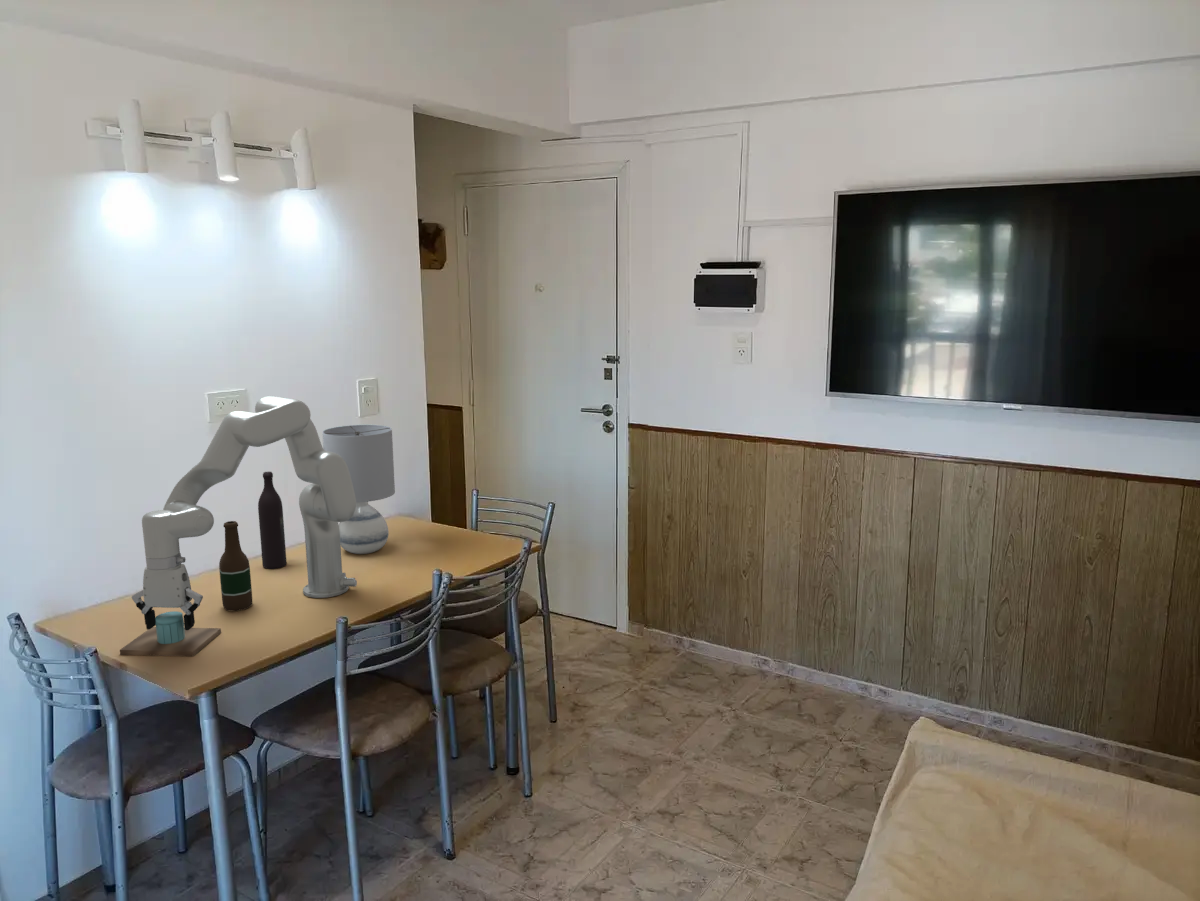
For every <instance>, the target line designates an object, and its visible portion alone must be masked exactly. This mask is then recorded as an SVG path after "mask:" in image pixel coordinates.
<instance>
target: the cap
mask: <svg viewBox="0 0 1200 901" xmlns="http://www.w3.org/2000/svg"><path fill="white" fill-rule="evenodd" d="M155 619H156V625H155V627H156V632H157V641H158V642H159V643H161V644H171V643H176V642H178V641H181V640H183V639H184V638H185V630H184V628H185V626H184V615H183V613H182V612H181V611H166V612H163V613H159V614H157V615H155Z"/></svg>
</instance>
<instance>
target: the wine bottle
mask: <svg viewBox="0 0 1200 901" xmlns="http://www.w3.org/2000/svg"><path fill="white" fill-rule="evenodd" d="M273 477H274V473H273V472H272V471H264V472H263V473H262V478H263V490H262V492H261V494H260V496H259V497H258V498H259V499H258V503H257V509H258V510H257V512H258V526H259V535H260V537H259V538H260V549H261V560H262V567H263V568H264V569H268V570H274V569H276V570H277V569H280V568H283V567H286V565H287V551H286V550H287V549H286V536H285V535H286V534H285V522H284V509H283V502H282V499H281V497H280V495H279V493H278V492H277V490H276V489H275V486H274V481H273Z"/></svg>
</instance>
